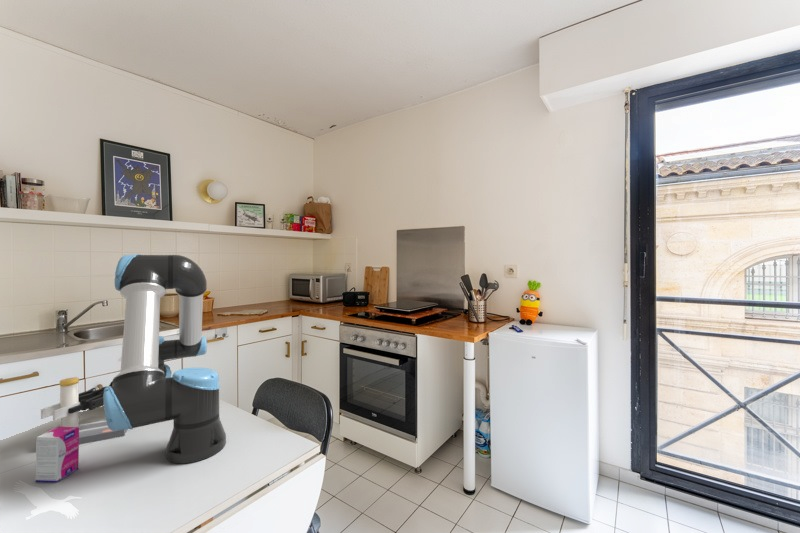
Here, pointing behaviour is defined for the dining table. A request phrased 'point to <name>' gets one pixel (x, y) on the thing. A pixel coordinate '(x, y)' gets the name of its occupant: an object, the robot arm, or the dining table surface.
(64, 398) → the switch handle
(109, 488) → the dining table surface
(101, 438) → the switch panel
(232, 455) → the dining table surface
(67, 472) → the supplement box
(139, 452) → the dining table surface
